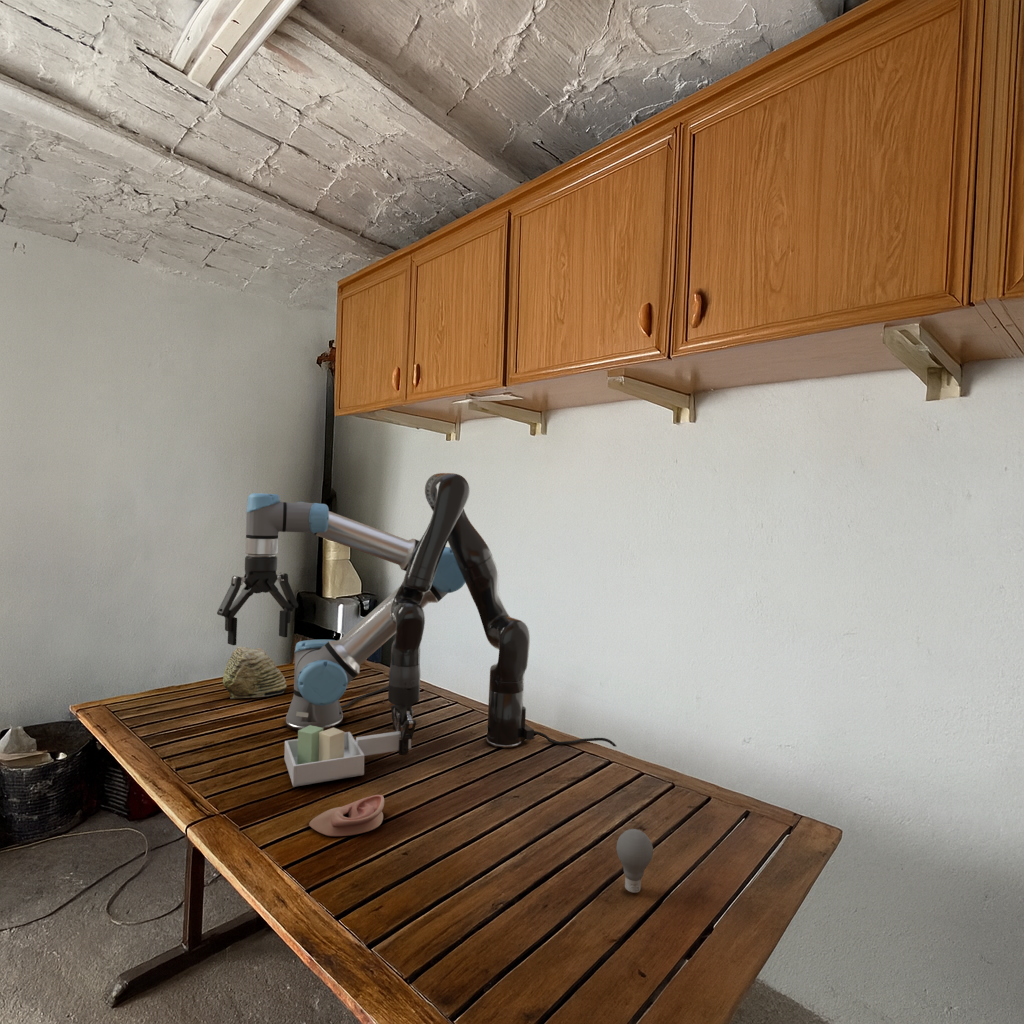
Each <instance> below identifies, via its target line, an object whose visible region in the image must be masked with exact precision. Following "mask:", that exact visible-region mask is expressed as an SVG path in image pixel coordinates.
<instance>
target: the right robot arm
mask: <svg viewBox="0 0 1024 1024" xmlns="http://www.w3.org/2000/svg"><path fill="white" fill-rule="evenodd" d="M470 490H471V489H470V484H469V482H468V480H467V479H466V478H465V477H464V476H463V475H460V474H458V473H453V472H451V473H450V472H438V473H435V474H432V475H431V476H429V478H428V479H427V480H426V482H425V485H424V495H425V499H426V501H427V503H428V506H429V507H430V508H431V510H432V514H431V515H432V516H431V518H430V521H429V523H428V525H427V527H426V529H425V531H424V533H423V535H422V536H421V538H420V539H419V540H418V541H419V543H418V544H417V546H416V548H415V550H414V552H413V554H412V556H411V559H410V561H409V564H408V567H407V570H406V571H405V574H404V578H403V581H402V582H401V583H400V585H399V587H400V588H399V587H398V588H399V590H398V592H397V594H396V596H395V598H394V600H393V602H392V605H391V610H390V616H391V619H392V621H393V622H394V623H395V624H396V633H395V639H394V640H393V641H392V643H391V647H390V648H391V649H390V664H389V665H390V666H389V672H388V686H389V688H388V690H387V691H388V695H387V700H388V702H389V703H390V704H392V705H391V706H390V712H391V719H392V729H393V731H394V732H397V731H399V751H397V752H398V755H399V756H406V755H408V754H409V749H408V743H409V739H411V740H413V737H414V734H415V731H416V725H417V720H416V719H413V718H414V709H413V705H414V704H417V703H418V702H419V701H420V698H421V697H420V695H421V694H420V693H421V643H422V640H423V636H424V631H425V626H426V625H425V624H426V615H425V610H424V608H422V607H421V605H420V603H421V601H422V598H423V596H424V594H425V593H426V592H428V591H429V590H430V588H431V586H432V584H433V581H434V578H435V574H436V571H437V568H438V565H439V562H440V559H441V557H442V554H443V551H444V549H445V547H447V544H448V546H449V547H450V548H451V550H452V552H453V555H454V557H455V560H456V562H457V565H458V567H459V570H460V572H461V574H462V576H463V579H464V581H465V585H466V587H467V589H468V592H469V594H470V596H471V598H472V600H473V603H474V604H475V607H476V609H477V612H478V615H479V618H480V621H481V625H482V627H483V631H484V634H485V637H486V640H487V641H488V642H489V644H490V645H491V646H492V647H493V648H494V649H496V650H498V658H497V662H496V663H494V664H492V665H491V666H490V668H489V681H488V682H489V683H488V703H487V705H488V708H487V723H486V727H485V728H486V743H487V744H488V745H489V746H492V747H494V748H501V749H512V748H517V747H519V746H520V745H522V744H525V740H526V741H531V740H534V739H535V735H538V736H541V737H543V738H544V739H546V741H548V742H549V743H551V744H554V745H560V746H561V745H575V744H578V743H583V742H599V741H600V742H606V743H609V744H610V745H611V746H612V747H617V744H616V743H615V742H613V741H612V740H611V739H609V738H605V737H590V738H589V737H588V738H578V739H574V740H564V741H557V740H554V739H551V738H550V737H549V736H548V735H547V734H545V733H544V732H540V731H538V730H535V729H534V728H533V727H531V726H530V725H528V724H527V723H526V719H527V718H526V717H527V715H526V714H527V708H526V707H525V706H524V693H525V692H524V690H525V674H526V673H525V672H526V671H527V668H528V665H529V658H530V657H529V655H530V646H531V633H530V629H529V627H528V625H527V623H526V622H524V621H523V620H521V619H518V618H515V617H513V616H511V615H510V614H509V613H508V611H507V609H506V608H505V605H504V602H503V601H502V598H501V595H500V574H499V569H498V565H497V563H496V560H495V557H494V556H493V554H492V551H491V549H490V547H489V545H488V544H487V543H486V541H485V540H484V538H483V537H482V535H481V533H479V531H478V530H477V529H476V528H475V526H474V525H473V524H472V522H471V521H470V519H469V518H468V515H467V513H466V511H465V507H466V505H467V502H468V500H469V497H470Z"/></svg>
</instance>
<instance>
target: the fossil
mask: <svg viewBox="0 0 1024 1024" xmlns="http://www.w3.org/2000/svg"><path fill="white" fill-rule="evenodd" d="M222 676H223V677H222V685H223V687H224V688H225V690H226V691H228V693H229V698H230V699H250V698H264V697H271V696H275V695H281V694H284V693H285V691H286V689H287V687H288V686H287V680H286V678H285V676H284V674H283V673H282V672H281V669H279V668H278V667H277V665H276V663H275V662H274V660H273V659H272V658H271V657H270V656H269V655H268V654H267V653H266V652H265V650H264V649H263V648H260V647H258V648H251V647H247V646H246V647H245V646H238V647H237V648H236V649H235V650H233V651H232V653H231V656H230V657H229V659H228V660H227V663H226V666H225V668H224V671H223V675H222Z"/></svg>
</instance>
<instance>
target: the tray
mask: <svg viewBox="0 0 1024 1024" xmlns="http://www.w3.org/2000/svg"><path fill="white" fill-rule="evenodd" d="M409 749H412V739H409V743H408V750H409ZM391 752H399V731H397V732H395V731H391V732H383V733H377V734H376V733H375V734H370V735H362V736H356V737H355V738H354V736H353V734H352V732H351V731H346V732H345V731H344V757H343V758H337V759H330V760H324V761H318V762H311V763H305V764H298V765H297V760H298V738H296V739H295V738H294V739H287V740H284V755H283V756H284V758H283V759H284V763H285V766H286V768H287V769H286V770H287V772H288V775H289V778H290V779H289V780H290V781H291V785H292V787H293V788H295V787H300V786H302V787H303V786H306V785H312V784H318V783H319V784H320V783H324V782H331V781H338V780H342V779H348V778H353V777H359V776H364V775H365V757H366V756H372V755H379V754H385V753H391Z"/></svg>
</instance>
